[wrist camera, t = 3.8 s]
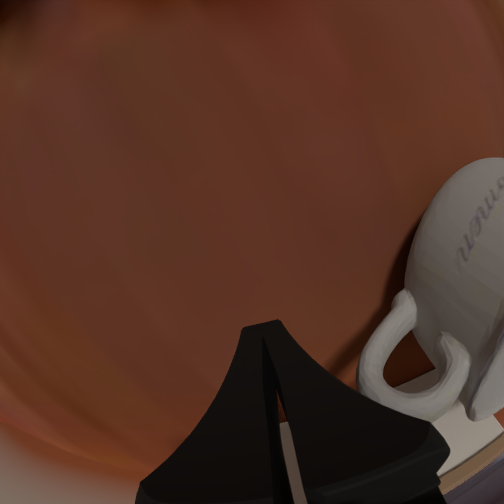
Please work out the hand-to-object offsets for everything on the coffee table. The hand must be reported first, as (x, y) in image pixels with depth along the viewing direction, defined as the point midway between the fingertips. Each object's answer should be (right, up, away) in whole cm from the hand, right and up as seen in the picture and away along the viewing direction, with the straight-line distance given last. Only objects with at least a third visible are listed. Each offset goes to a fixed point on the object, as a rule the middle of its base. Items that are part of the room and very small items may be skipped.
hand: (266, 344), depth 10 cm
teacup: (+9, +3, +3) cm, 10 cm away
